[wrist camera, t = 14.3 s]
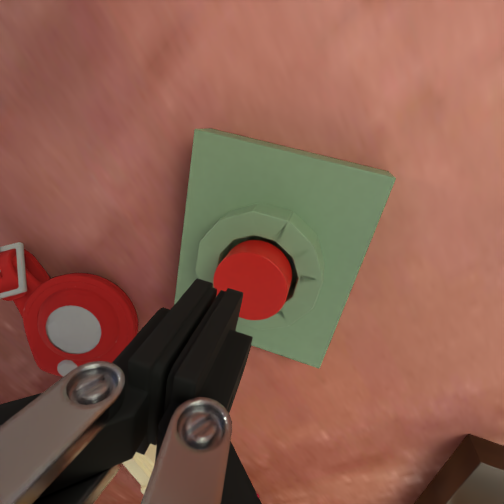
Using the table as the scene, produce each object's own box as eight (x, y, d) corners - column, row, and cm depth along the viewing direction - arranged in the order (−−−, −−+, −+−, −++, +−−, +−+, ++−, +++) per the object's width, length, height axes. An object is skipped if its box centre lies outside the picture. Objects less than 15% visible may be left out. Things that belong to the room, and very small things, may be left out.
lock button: (231, 231, 15) (219, 242, 14) (300, 251, 15) (296, 265, 13) (219, 290, 17) (208, 307, 15) (282, 310, 16) (276, 330, 15)
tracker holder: (145, 296, 22) (108, 411, 24) (160, 276, 26) (127, 375, 28) (-38, 238, 20) (-61, 366, 22) (10, 227, 24) (-13, 335, 26)
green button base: (210, 128, 17) (177, 128, 14) (388, 171, 16) (404, 184, 12) (186, 301, 22) (158, 335, 19) (320, 346, 21) (317, 391, 17)
